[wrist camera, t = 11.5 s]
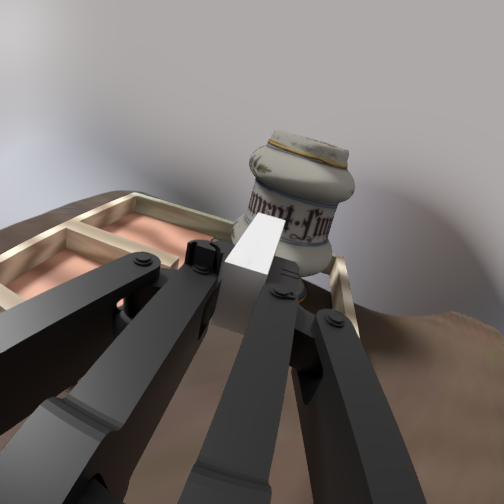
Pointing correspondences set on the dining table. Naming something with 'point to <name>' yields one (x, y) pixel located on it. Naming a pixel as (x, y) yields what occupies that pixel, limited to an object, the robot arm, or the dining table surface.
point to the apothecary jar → (298, 197)
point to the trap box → (126, 248)
